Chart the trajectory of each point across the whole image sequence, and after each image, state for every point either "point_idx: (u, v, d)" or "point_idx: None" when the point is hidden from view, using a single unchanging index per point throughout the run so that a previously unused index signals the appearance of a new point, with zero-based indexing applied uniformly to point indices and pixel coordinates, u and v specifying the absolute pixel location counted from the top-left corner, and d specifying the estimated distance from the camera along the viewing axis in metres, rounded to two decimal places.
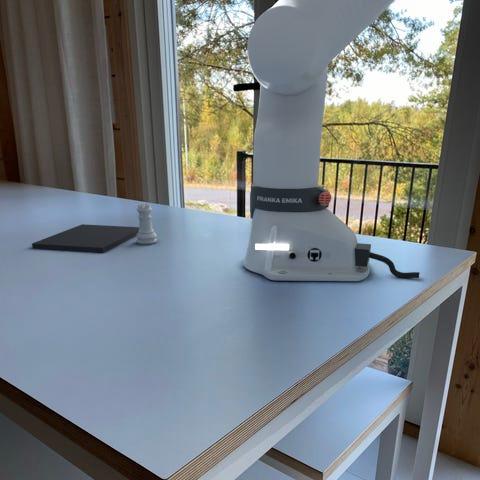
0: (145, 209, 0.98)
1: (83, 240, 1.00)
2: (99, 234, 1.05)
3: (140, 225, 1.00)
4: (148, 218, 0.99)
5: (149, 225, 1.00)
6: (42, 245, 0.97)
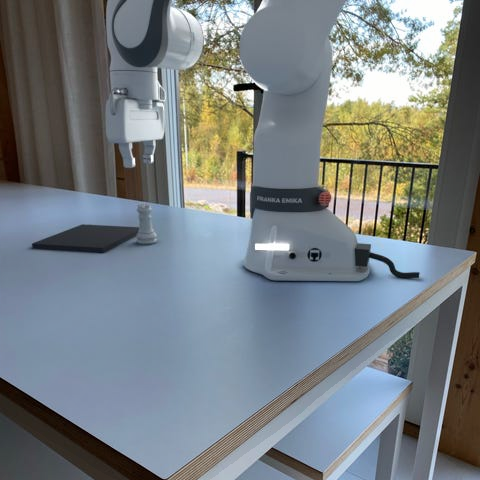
0: (145, 209, 0.98)
1: (83, 240, 1.00)
2: (99, 234, 1.05)
3: (140, 225, 1.00)
4: (148, 218, 0.99)
5: (149, 225, 1.00)
6: (42, 245, 0.97)
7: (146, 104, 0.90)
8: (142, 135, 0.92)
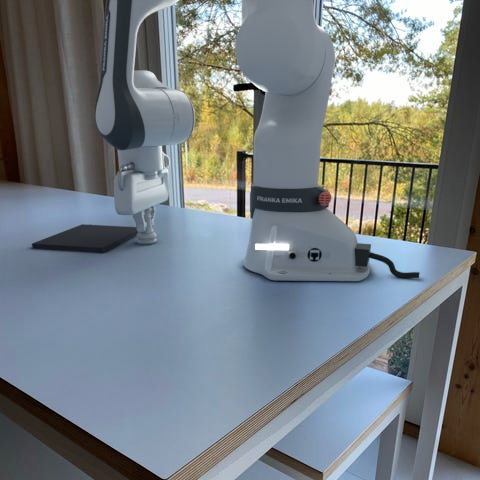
0: None
1: (83, 240, 1.00)
2: (99, 234, 1.05)
3: None
4: (148, 218, 0.99)
5: (149, 225, 1.00)
6: (42, 245, 0.97)
7: (152, 175, 0.95)
8: (148, 203, 0.97)
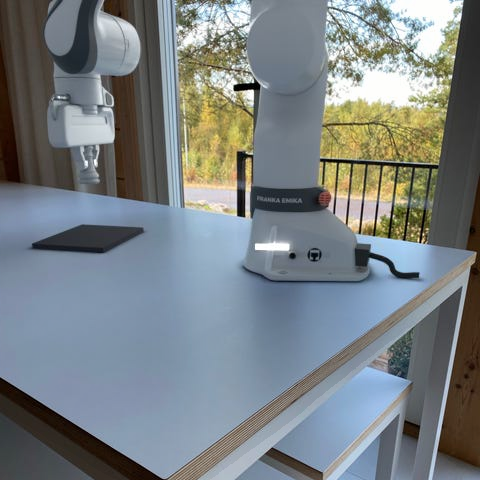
0: (85, 146, 0.96)
1: (83, 240, 1.00)
2: (99, 234, 1.05)
3: None
4: (89, 156, 0.97)
5: (90, 164, 0.98)
6: (42, 245, 0.97)
7: (90, 109, 0.93)
8: (88, 139, 0.95)
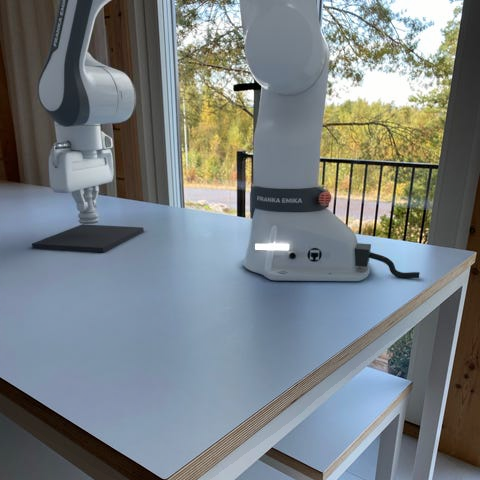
0: (85, 188, 0.99)
1: (83, 240, 1.00)
2: (99, 234, 1.05)
3: None
4: (89, 198, 1.00)
5: (90, 205, 1.01)
6: (42, 245, 0.97)
7: (90, 154, 0.96)
8: (88, 182, 0.98)
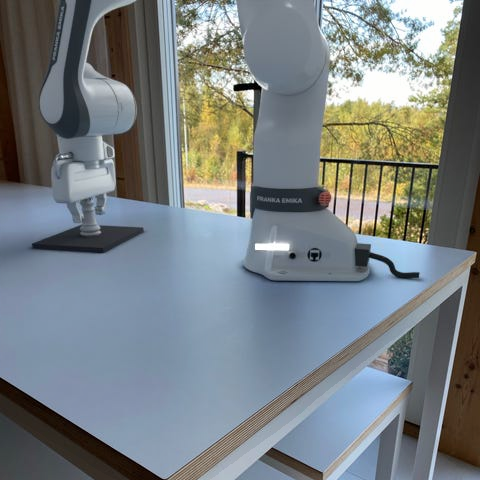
0: (87, 202, 1.00)
1: (83, 240, 1.00)
2: None
3: None
4: (90, 211, 1.02)
5: (92, 218, 1.02)
6: (42, 245, 0.97)
7: (92, 164, 0.97)
8: (90, 192, 0.99)
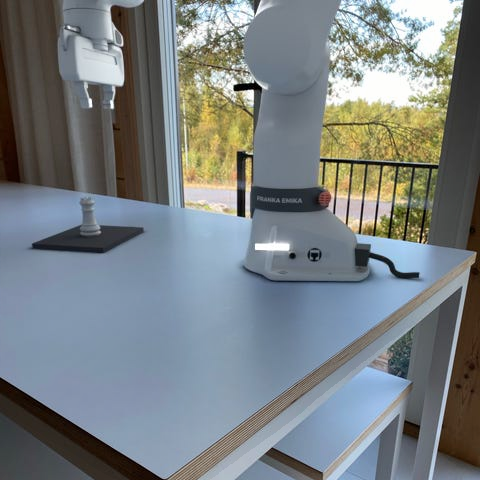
0: (87, 202, 1.00)
1: (83, 240, 1.00)
2: None
3: (83, 217, 1.02)
4: (90, 211, 1.02)
5: (92, 218, 1.02)
6: (42, 245, 0.97)
7: (100, 44, 0.91)
8: (98, 76, 0.93)
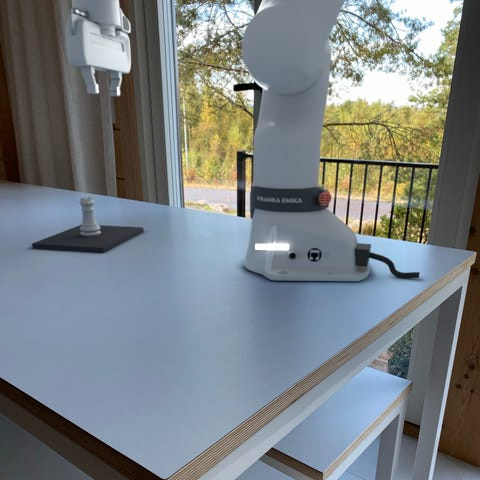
0: (87, 202, 1.00)
1: (83, 240, 1.00)
2: None
3: (83, 217, 1.02)
4: (90, 211, 1.02)
5: (92, 218, 1.02)
6: (42, 245, 0.97)
7: (108, 29, 0.91)
8: (106, 62, 0.93)
